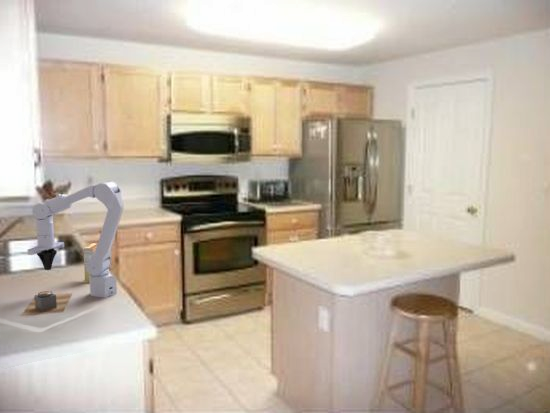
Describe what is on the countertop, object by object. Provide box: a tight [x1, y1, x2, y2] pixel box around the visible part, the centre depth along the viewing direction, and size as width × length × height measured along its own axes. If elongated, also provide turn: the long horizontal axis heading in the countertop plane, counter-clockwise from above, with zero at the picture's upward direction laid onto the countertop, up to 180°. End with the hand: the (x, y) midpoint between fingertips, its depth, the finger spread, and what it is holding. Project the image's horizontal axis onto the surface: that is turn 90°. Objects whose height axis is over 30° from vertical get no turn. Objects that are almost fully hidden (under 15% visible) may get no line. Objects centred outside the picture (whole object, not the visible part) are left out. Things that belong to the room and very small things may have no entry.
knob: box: [33, 290, 57, 312], centre depth 163 cm, size 5×5×5 cm
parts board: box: [20, 292, 73, 316], centre depth 168 cm, size 21×13×1 cm, turn 15°
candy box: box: [83, 242, 98, 285], centre depth 199 cm, size 9×4×15 cm, turn 179°
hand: (47, 269), depth 178 cm, fingers closed
